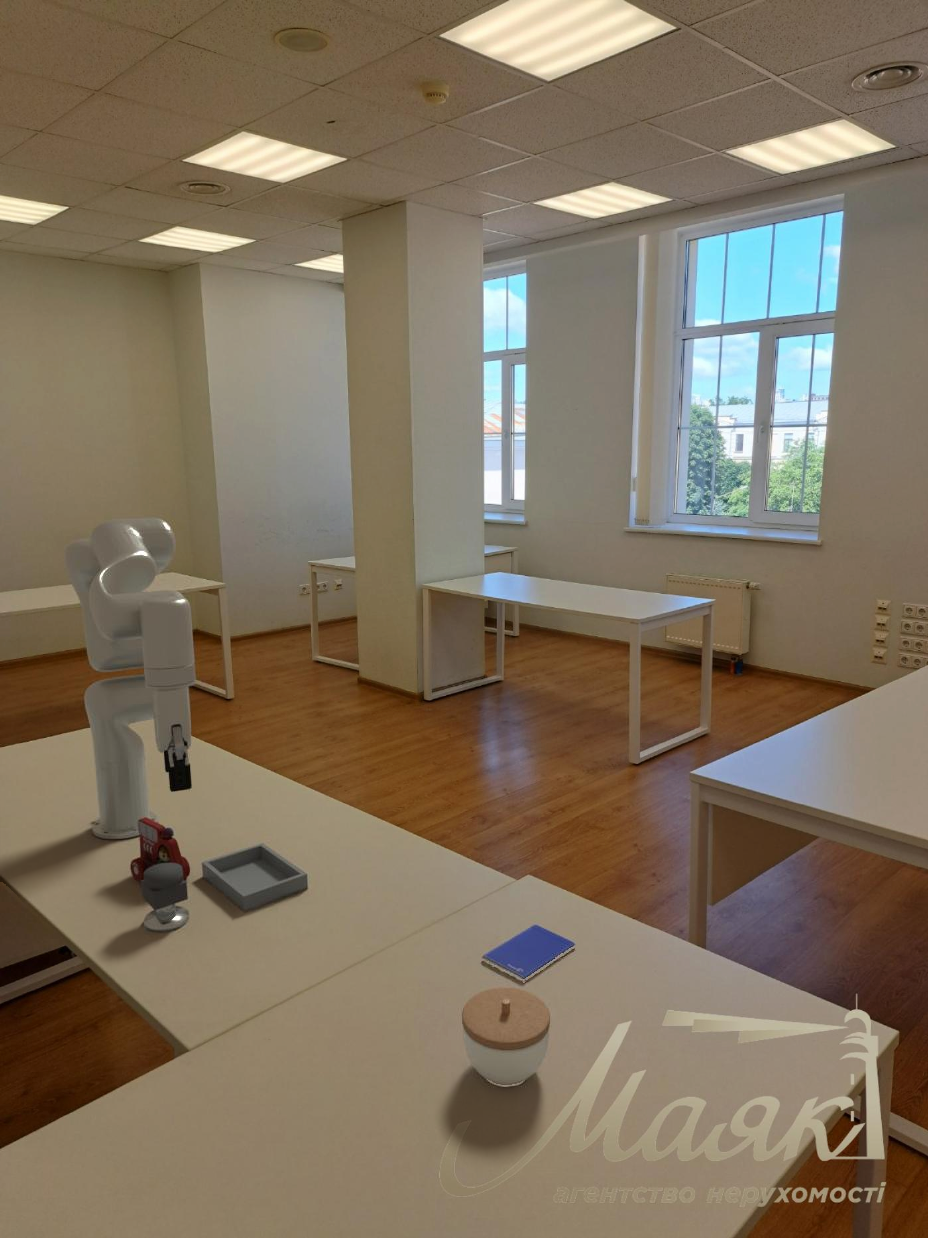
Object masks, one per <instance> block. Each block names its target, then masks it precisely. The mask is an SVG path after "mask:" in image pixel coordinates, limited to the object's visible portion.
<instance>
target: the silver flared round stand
mask: <svg viewBox="0 0 928 1238" xmlns="http://www.w3.org/2000/svg"><path fill="white" fill-rule="evenodd" d="M189 920H190V913H189V910H188V908H187V907H184V906H180V905H176V903H175V904H173V905H170V906H167V907H164V908H161V909H158V910H154V909H153V910H151V911H150V912H148V913H147V914H146V915H145V916H144V918H143V926H144V929H146V930H147V931H149V932H152V933H168V932H171V931H175V930H178V929H181V928H182V927H184V926H185V925H186V924H187V923H188V922H189Z"/></svg>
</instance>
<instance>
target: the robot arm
mask: <svg viewBox="0 0 928 1238" xmlns="http://www.w3.org/2000/svg"><path fill="white" fill-rule="evenodd" d="M174 533H175V532H174V531H173V529H172V527H171V526H170V524H169V523H168V522H166V521H165V520H163V519H161V518H158V517H141V518H140V517H139V518H115V519H108V520H104V521H103V522H100V523H98V524H97V525H96V526H95V527H94V528H93V530H92V531H91V533H90V537H89V538H81V539H77V540H74V541H72V542H70V543H69V544H67V546H65V549H64V558H63V559H64V566H65V571H66V573H67V577H68V579H69V582H70V584H71V585H72V587H73V590H74V591H75V593H76V595H77V597H78V600H79V603H80V606H81V611H82V621H83V622H82V623H83V629H84V639H85V647H86V653H87V658H88V659H87V660H88V662H89V665H90V667H92V669H94V670H95V671H97V672H101V673H102V672H103V673H105V672H118V671H126V670H134V669H141V668H143V671H144V672H143V674H135V675H134V674H133V675H126V676H117V677H111V678H105V679H101V680H98V681H95V682H94V683H92V684H90V685H89V686H88V687H87V689H86V690H85V692H84V697H83V698H84V706H85V712H86V714H87V718H88V723H89V726H90V727H89V728H90V732H91V738H92V744H93V757H94V765H95V767H94V768H95V778H96V790H97V801H98V812H99V813H98V814H99V819H97V820H95V822H94V823H93V824H92V827H91V828H92V834H93V835H94V836H95V837H98V838H100V839H104V840H105V839H106V840H122V839H129V838H133V837H137V836H140V834H139V832H138V820H139V819H142V818H145V817H147V818H149V819H151V820H153V821H155V822H157V823H159V819H158V815H157V814H156V813H155V812H153V811H150V807H149V793H148V792H149V791H148V780H147V778H148V777H147V768H146V767H147V766H146V765H147V764H146V753H145V751H146V750H145V744H144V741H143V739H142V737H141V736H140V735H139V734H138V733H137V732H136V731H135V730H133V729H132V728H131V727H129V726H130V725H131V724H135V723H139V722H146V721H152V720H153V722H154V735H155V736H154V737H155V738H154V739H155V744H156V747H157V751H158V752H159V753H163V760H164V761H163V762H164V771H165V772H166V773H168V781H169V783H168V784H169V791H170V792H173V793H174V792H180V791H188V790H191V789H192V788H193V787H192V786H193V784H192V771H191V763H190V762H189V753H188V750H189V749H190V748H191V747H192V722H191V719H192V718H191V705H190V703H191V701H190V691H189V690H190V688H189V687H191V686H194V685H195V684H197V677H196V664H195V662H196V661H195V651H194V650H195V649H194V637H193V634H194V633H193V624H192V623H193V622H192V609H191V604H190V602H189V600H188V598H187V599H186V598H185V596H184V595H183V594H182V593H181V592H180V591H177V590H173V589H171V590H170V589H167V590H166V589H165V590H153V591H151V590H150V591H146V589H148V588H149V587H150V586H151V585H152V584H153V582H154V580H155V578H156V577H157V576H158V575H160V574H161V573H162V572H163V571H164V569H166V568H167V566H169V564H170V563H171V562H172V561H173V559H174V557H175V553H176V547H177V546H176V545H177V544H176V537H175V534H174Z"/></svg>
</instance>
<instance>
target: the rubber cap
mask: <svg viewBox="0 0 928 1238" xmlns="http://www.w3.org/2000/svg"><path fill="white" fill-rule="evenodd" d="M143 875H144V880H142V881H140V883H141V896H142V899H143V900H144V901H145V902H146V903H147V904H148V905H149V906H150V907H151V908H152V909H153V910H158V909H161V908H164V907H167V906H170V905H173V904H175V905H176V904H179V903H181V902H184V901H187V900H189V899H188V898H189V897H188V896H189V895H188V882H187V881H186V880H185V878H184V879H183V868H182V866H181V865H179V864H177V863H161V864H157V865H154V866H151V867H149V868H148V869H146V870H145V871H144V874H143Z"/></svg>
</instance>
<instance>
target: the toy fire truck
mask: <svg viewBox="0 0 928 1238" xmlns="http://www.w3.org/2000/svg"><path fill="white" fill-rule="evenodd" d="M138 832H139V834H140V835H139V850H140V851H139V853H140V857H137V858H134V859H132V860H131V861H130V865H129V866H130V872H131V875H132V877H133V879H135V881H137V882H141V881H142V880H144V875H143V874H144V871H145V870H146V869H148V868H149V867H151V866H154V865H157V864H161V863H177V864H179V865H181V866H182V868H183V879H184V880H185V879H186V878H188V877H189V876H190V873H191V867H190V863H189V861H188V859H187V858H186V857H184V856H183V855H182V854H181V850H180V847H179V844H178V841H177V839H176V838H175V837H174V835H175V833H174V830H173V828H172V827H166V826H164V825H163V824H161V823H159V822H158V823H157V822H155V821H153V820H151V819H149V818H147V817H145V818H142V819H139V820H138Z"/></svg>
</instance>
